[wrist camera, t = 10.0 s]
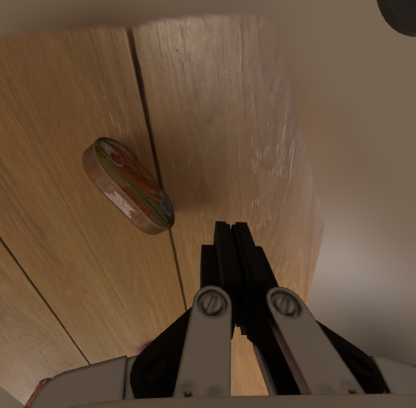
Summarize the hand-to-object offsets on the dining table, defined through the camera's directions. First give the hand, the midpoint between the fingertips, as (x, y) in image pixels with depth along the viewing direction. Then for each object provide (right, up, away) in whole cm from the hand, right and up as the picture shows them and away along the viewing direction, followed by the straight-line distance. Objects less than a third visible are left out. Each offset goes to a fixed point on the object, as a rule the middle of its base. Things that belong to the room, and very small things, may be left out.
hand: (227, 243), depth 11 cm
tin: (-12, +6, +20) cm, 24 cm away
